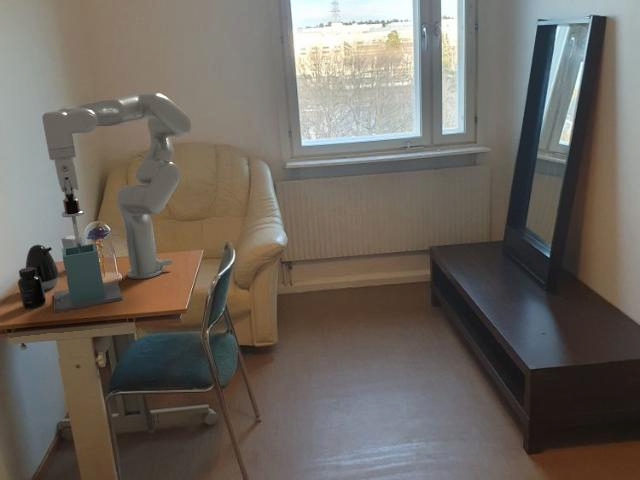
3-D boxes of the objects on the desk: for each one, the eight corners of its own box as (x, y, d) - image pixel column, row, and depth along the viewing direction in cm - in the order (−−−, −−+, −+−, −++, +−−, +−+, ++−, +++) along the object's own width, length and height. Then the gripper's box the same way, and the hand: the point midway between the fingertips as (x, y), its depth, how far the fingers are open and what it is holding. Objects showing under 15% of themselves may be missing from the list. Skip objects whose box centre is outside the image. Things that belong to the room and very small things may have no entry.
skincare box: (88, 267, 238) (82, 236, 235) (78, 271, 235) (72, 239, 231) (76, 265, 241) (70, 234, 238) (66, 269, 238) (60, 238, 234)
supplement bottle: (29, 301, 208) (21, 266, 205) (49, 300, 208) (42, 265, 204) (18, 309, 201) (11, 273, 198) (40, 308, 201) (33, 272, 198)
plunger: (93, 260, 210) (82, 195, 204) (95, 266, 203) (83, 199, 197) (69, 264, 207) (57, 198, 201) (70, 271, 201) (57, 203, 194)
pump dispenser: (49, 293, 214) (41, 249, 210) (22, 293, 216) (13, 249, 212) (67, 282, 224) (59, 240, 219) (40, 282, 226) (32, 240, 221)
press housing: (117, 283, 219) (110, 238, 215) (122, 299, 204) (114, 251, 199) (54, 294, 212) (45, 248, 208) (55, 312, 197) (45, 262, 193)
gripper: (76, 155, 189) (86, 215, 194) (74, 148, 204) (84, 204, 209) (48, 158, 186) (60, 219, 191) (48, 151, 201) (59, 208, 206)
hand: (72, 211), depth 200 cm, fingers closed on plunger, 4 cm apart
